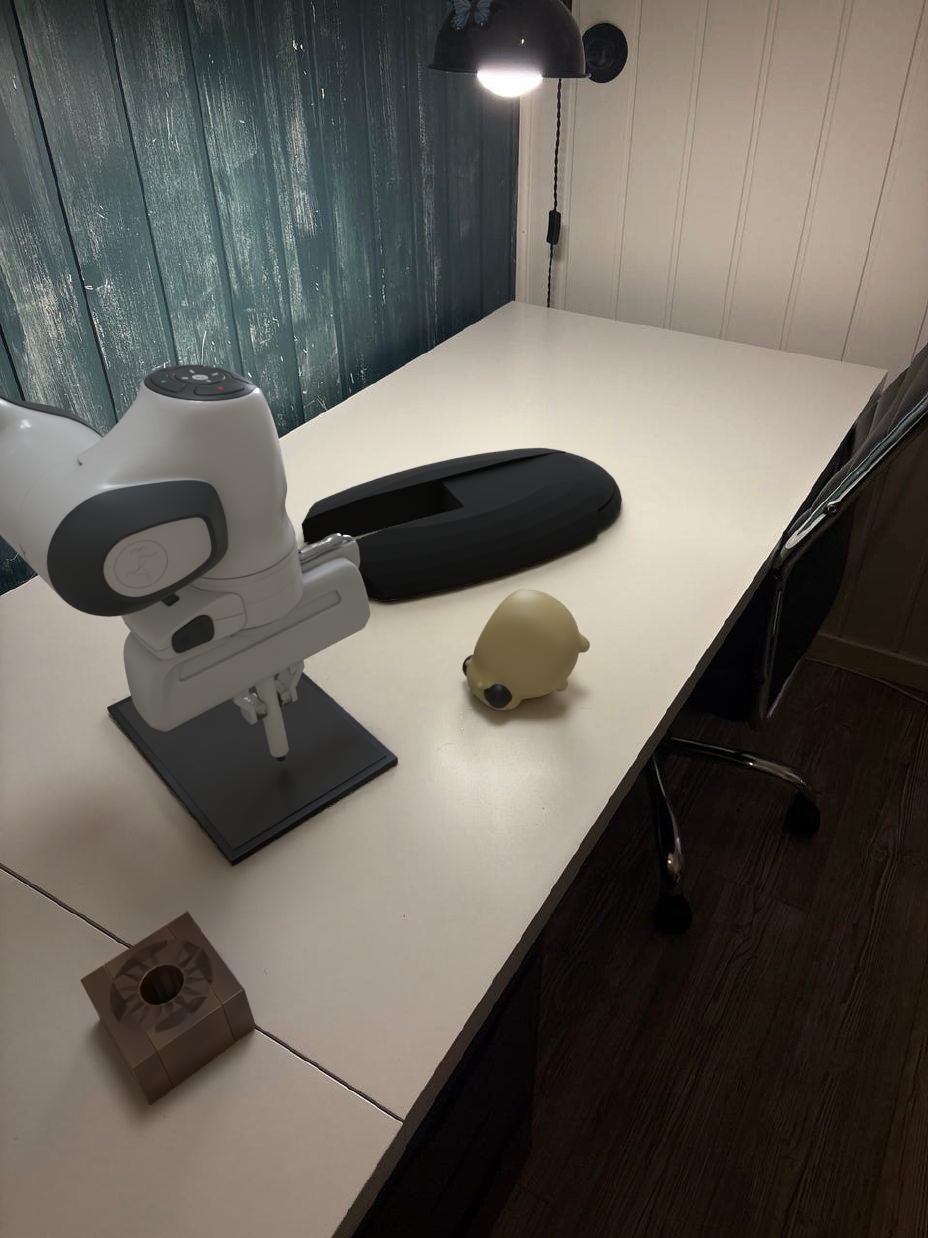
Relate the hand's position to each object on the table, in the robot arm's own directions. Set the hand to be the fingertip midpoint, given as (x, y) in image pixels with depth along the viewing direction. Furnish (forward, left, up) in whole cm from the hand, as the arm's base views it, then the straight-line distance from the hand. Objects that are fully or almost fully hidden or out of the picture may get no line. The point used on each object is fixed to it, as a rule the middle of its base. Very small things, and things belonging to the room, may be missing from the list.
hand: (270, 709), depth 77 cm
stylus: (0, 0, -6) cm, 6 cm away
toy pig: (+24, -6, -8) cm, 26 cm away
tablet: (0, +6, -8) cm, 10 cm away
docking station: (+40, +20, -8) cm, 45 cm away
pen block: (-18, -15, -8) cm, 25 cm away
